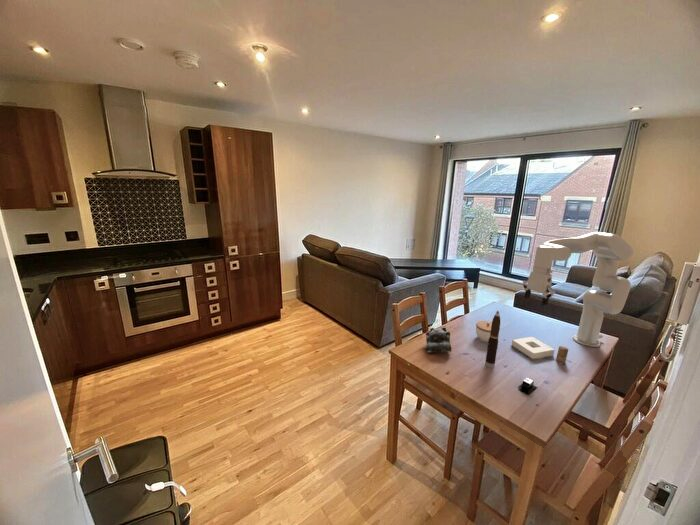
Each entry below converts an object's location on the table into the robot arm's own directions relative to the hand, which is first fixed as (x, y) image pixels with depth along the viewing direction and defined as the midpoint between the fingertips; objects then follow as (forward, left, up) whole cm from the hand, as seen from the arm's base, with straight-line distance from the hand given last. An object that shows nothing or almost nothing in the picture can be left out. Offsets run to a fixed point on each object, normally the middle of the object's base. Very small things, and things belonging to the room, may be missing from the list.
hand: (535, 301), depth 149 cm
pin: (-11, +11, -31) cm, 34 cm away
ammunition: (+27, +4, -31) cm, 41 cm away
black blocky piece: (+23, +23, -31) cm, 46 cm away
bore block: (-5, -1, -31) cm, 31 cm away
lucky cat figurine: (+46, -15, -31) cm, 58 cm away
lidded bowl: (+11, -18, -31) cm, 37 cm away
